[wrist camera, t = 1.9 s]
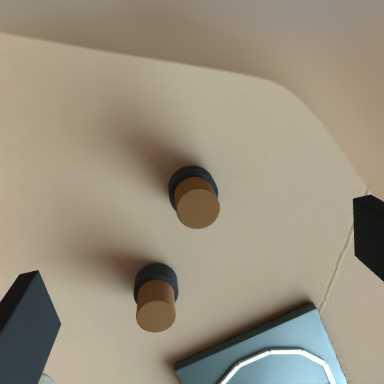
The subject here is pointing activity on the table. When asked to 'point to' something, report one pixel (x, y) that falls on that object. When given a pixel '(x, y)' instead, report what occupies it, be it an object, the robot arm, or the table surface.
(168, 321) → the stamp
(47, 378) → the milkshake
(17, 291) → the robot arm
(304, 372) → the slate board
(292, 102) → the table surface
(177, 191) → the stamp
